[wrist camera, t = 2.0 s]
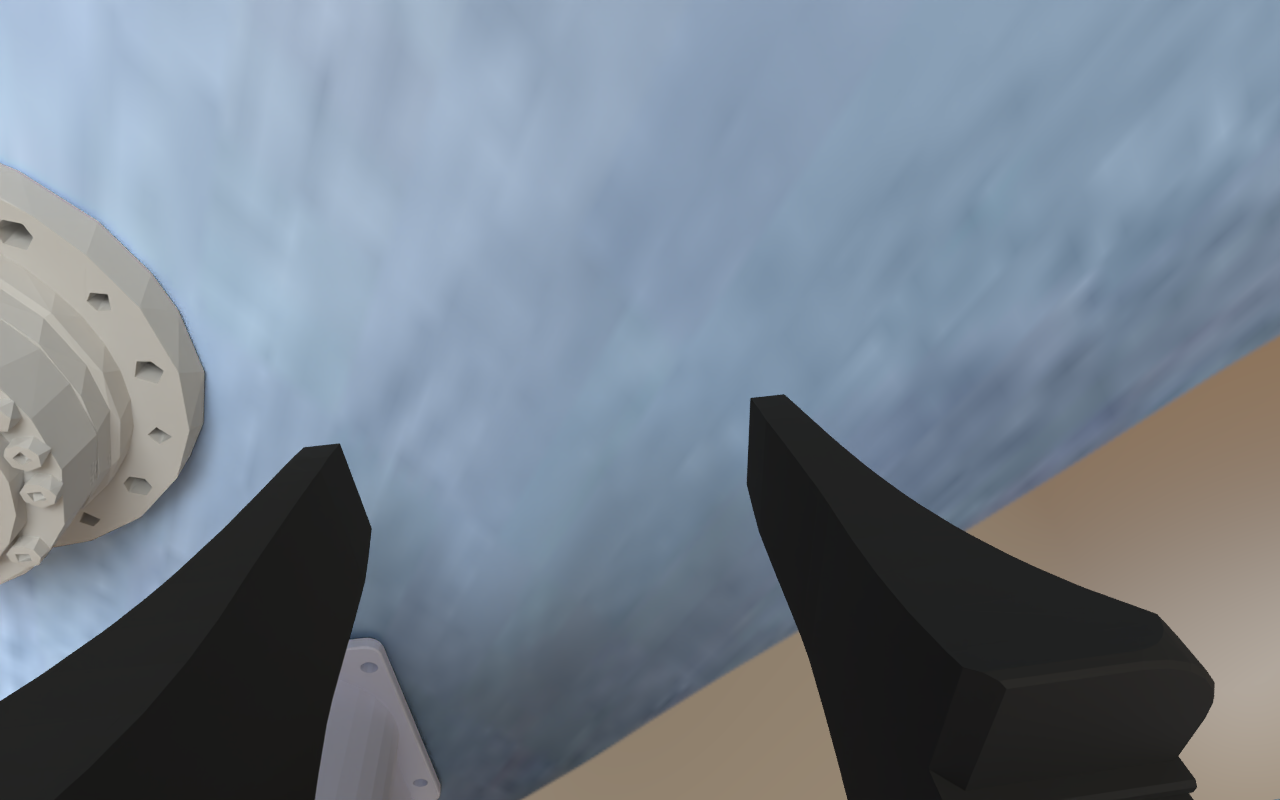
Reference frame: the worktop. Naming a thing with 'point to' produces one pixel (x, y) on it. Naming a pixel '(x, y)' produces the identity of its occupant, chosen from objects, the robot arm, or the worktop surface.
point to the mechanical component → (83, 379)
